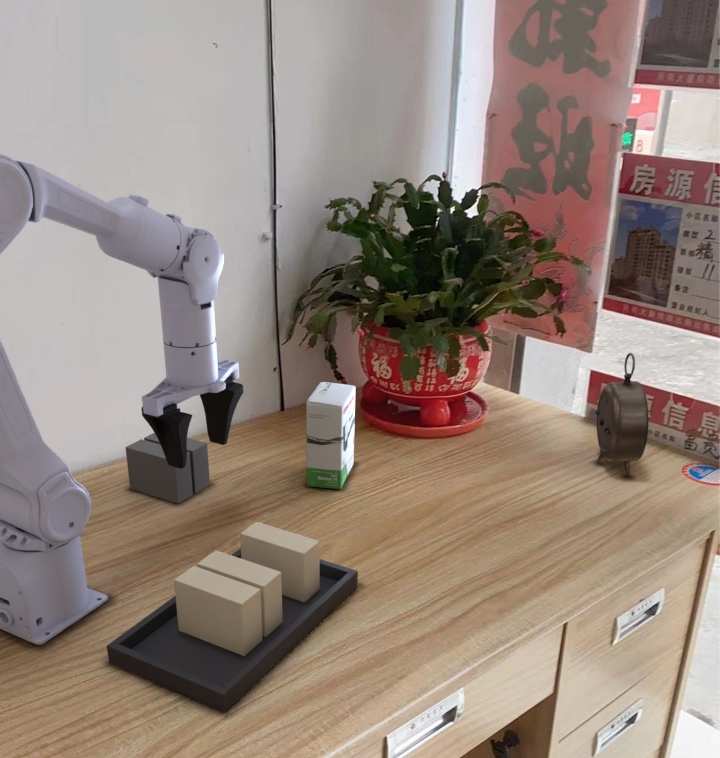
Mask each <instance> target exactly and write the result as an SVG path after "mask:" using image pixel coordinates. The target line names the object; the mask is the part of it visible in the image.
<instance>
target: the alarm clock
mask: <svg viewBox="0 0 720 758" xmlns="http://www.w3.org/2000/svg"><path fill="white" fill-rule="evenodd" d="M629 357H631V360H632V367H631V372H628V368H627V366H628V360H629ZM623 368H624V375H623V378H624V380H623V381H611V382H609V383H607V384H605V386H604V387H603V388H602V389H601V392H600V394H599V398H598V402H597V407H596V410H595V412H594V414H595V415H596V436H597V442H598V446H599V452H600V454H599V456H598V458H597V459H596V461H595V462H596V463H597V464H598V463H599V462H600V461H601V460H602V459H603V458H605V460H607V461H608V462H623V465H624V471H625V474H624V477H625V478H629V477H631V474H630V470H631V466H630V462H638V461H640V460H641V458H642V457H643V455H644V453H645V450H646V446H647V442H648V435H649V406H648V398H647V395H646V391H645V388H644V386H643V384H641V382H639V381H638V380H633V381H632V380H631V379H632V376H633V375H634V371H635V369H636V358H635V355H634V354H633V353H632V352H629V353H627V355H626V357H625V360H624V366H623Z"/></svg>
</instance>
